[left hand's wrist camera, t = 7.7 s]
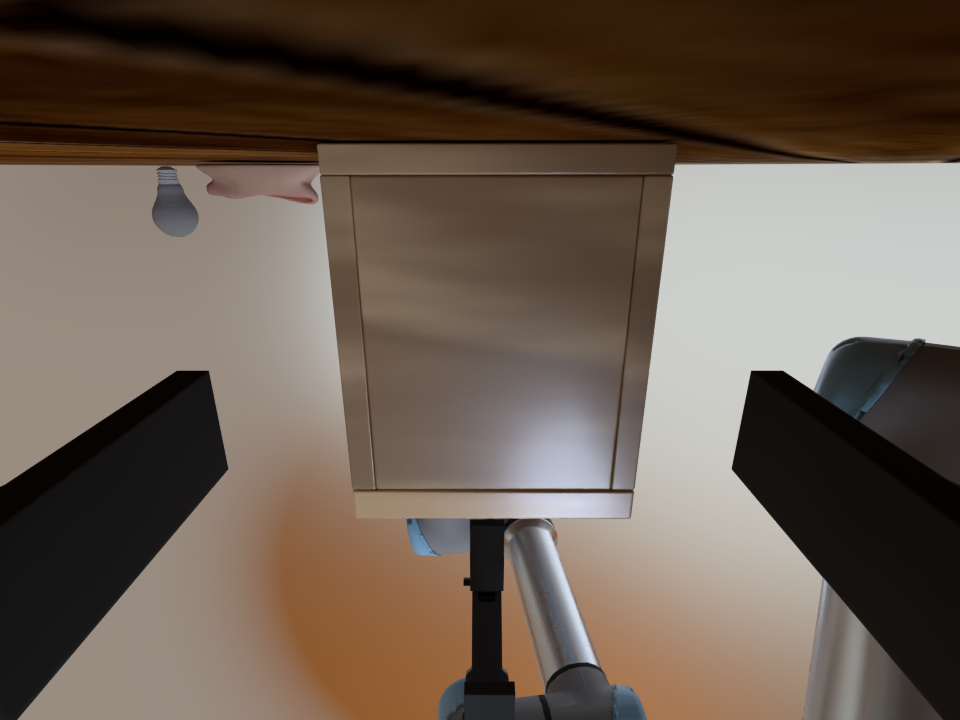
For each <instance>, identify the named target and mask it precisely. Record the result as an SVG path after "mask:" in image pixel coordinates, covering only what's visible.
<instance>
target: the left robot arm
mask: <svg viewBox="0 0 960 720" xmlns="http://www.w3.org/2000/svg"><path fill="white" fill-rule="evenodd" d="M227 470H228V465H227V460H226V455H225V450H224V445H223V440H222V435H221V430H220V425H219V420H218V415H217V410H216V405H215V400H214V395H213V390H212V385H211V380H210V375H209V371H176V372H174V373H173V374H171V375H170V376H168V377H167V378H165V379H164V380H162V381H161V382H159V383H158V384H156V385H155V386H153V387H152V388H150V389H149V390H147V391H146V392H144V393H143V394H141V395H140V396H138V397H137V398H135V399H134V400H132V401H131V402H129V403H128V404H126V405H125V406H123V407H122V408H120V409H119V410H117V411H116V412H114V413H113V414H111V415H110V416H108V417H106V418H105V419H103V420H102V421H100V422H99V423H97V424H96V425H94V426H93V427H91V428H90V429H88V430H87V431H85V432H84V433H82V434H81V435H79V436H78V437H76V438H75V439H73V440H72V441H70V442H69V443H67V444H66V445H64V446H63V447H61V448H60V449H58V450H57V451H55V452H54V453H52V454H51V455H49V456H48V457H46V458H44V459H43V460H41V461H40V462H38V463H37V464H35V465H34V466H32V467H31V468H29V469H28V470H26V471H25V472H23V473H22V474H20V475H19V476H17V477H16V478H14V479H13V480H11V481H10V482H8V483H7V484H5V485H3V486H1V487H0V720H17V719H18V718H19V717H20V716H21V714H22V713H23V712H24V711H25V710H26V709H27V707H28V706H29V705H30V704H31V703H32V702H33V700H34V699H35V698H36V697H37V696H38V694H39V693H40V692H41V691H42V690H43V688H44V687H45V686H46V685H47V684H48V682H49V681H50V680H51V679H52V678H53V677H54V675H55V674H56V673H57V672H58V671H59V670H60V668H61V667H62V666H63V665H64V664H65V662H66V661H67V660H68V659H69V658H70V656H71V655H72V654H73V653H74V652H75V651H76V649H77V648H78V647H79V646H80V644H81V643H82V642H83V641H84V640H85V639H86V637H87V636H88V635H89V634H90V633H91V632H92V630H93V629H94V628H95V627H96V626H97V624H98V623H99V622H100V621H101V620H102V618H103V617H104V616H105V615H106V614H107V613H108V611H109V610H110V609H111V608H112V607H113V605H114V604H115V603H116V602H117V601H118V599H119V598H120V597H121V596H122V595H123V594H124V592H125V591H126V590H127V589H128V588H129V586H130V585H131V584H132V583H133V582H134V580H135V579H136V578H137V577H138V576H139V575H140V573H141V572H142V571H143V570H144V569H145V567H146V566H147V565H148V564H149V563H150V561H151V560H152V559H153V558H154V557H155V555H156V554H157V553H158V552H159V551H160V550H161V548H162V547H163V546H164V545H165V544H166V542H167V541H168V540H169V539H170V538H171V537H172V535H173V534H174V533H175V532H176V531H177V529H178V528H179V527H180V526H181V525H182V523H183V522H184V521H185V520H186V519H187V518H188V516H189V515H190V514H191V513H192V512H193V510H194V509H195V508H196V507H197V506H198V505H199V503H200V502H201V501H202V500H203V499H204V497H205V496H206V495H207V494H208V493H209V491H210V490H211V489H212V488H213V487H214V486H215V484H216V483H217V482H218V481H219V480H220V478H221V477H222V476H223V475H224V474H225V472H226V471H227ZM732 470H733V471H734V472H735V474H736V475H737V476H738V477H739V478H740V480H741V481H742V482H743V483H744V484H745V486H746V487H747V488H748V489H749V490H750V491H751V493H752V494H753V495H754V496H755V497H756V499H757V500H758V501H759V502H760V503H761V505H762V506H763V507H764V508H765V509H766V510H767V512H768V513H769V514H770V515H771V516H772V518H773V519H774V520H775V521H776V522H777V524H778V525H779V526H780V527H781V528H782V529H783V531H784V532H785V533H786V534H787V535H788V537H789V538H790V539H791V540H792V541H793V542H794V544H795V545H796V546H797V547H798V548H799V550H800V551H801V552H802V553H803V554H804V555H805V557H806V558H807V559H808V560H809V561H810V563H811V564H812V565H813V566H814V567H815V569H816V570H817V571H818V572H819V573H820V575H821V576H822V577H823V580H822V587H821V594H820V601H819V608H818V615H817V622H816V629H815V636H814V643H813V650H812V657H811V664H810V671H809V678H808V685H807V692H806V699H805V706H804V713H803V720H960V347H955V346H947V345H939V344H932V343H925V339H914V340H912V341H905V340H894V339H883V338H872V337H854V338H850V339H847V340H844V341H842V342H840V343H839V344H837V345H836V346H835V347H834V348H833V349H832V350H831V351H830V353H829V355H828V357H827V359H826V361H825V363H824V366H823V368H822V370H821V373H820V375H819V378H818V381H817V383H816V386H815V388H814V391H813V390H811V389H810V388H808V387H807V386H805V385H804V384H802V383H801V382H799V381H798V380H796V379H795V378H793V377H792V376H790V375H789V374H787V373H786V372H784V371H751V375H750V380H749V385H748V390H747V395H746V400H745V405H744V410H743V415H742V420H741V425H740V430H739V435H738V440H737V445H736V450H735V455H734V460H733V465H732Z"/></svg>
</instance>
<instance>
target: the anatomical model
mask: <svg viewBox="0 0 960 720" xmlns="http://www.w3.org/2000/svg"><path fill="white" fill-rule="evenodd" d="M196 167H197V168H198V169H199V170H200V171H202V172H204V173H205V174H207V175H209V176H210V177H211V178H212V179H213V180H212V182H210V183H209V184H208V185H207V192H208V193H209V194H211V195H216V196H223V197H227V198H234V199H237V198H245V197H250V196H257V195H264V196H270V197H275V198H281V199H285V200H289V201H294V202H298V203H304V204H315V203H317V202H318V195H317V193H316V192H315V190H314V189H313V188H312V186H311V182H312V180H313V179H314V178H315V177H316V176H317V175H318V173H319V172H320V170H319V164H199V165H196Z"/></svg>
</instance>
